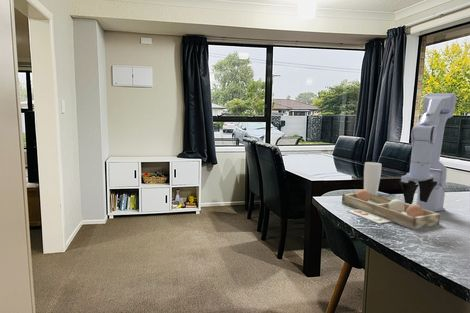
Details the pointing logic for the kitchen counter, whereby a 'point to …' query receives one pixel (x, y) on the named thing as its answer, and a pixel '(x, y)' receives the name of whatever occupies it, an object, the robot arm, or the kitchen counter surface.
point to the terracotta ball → (414, 211)
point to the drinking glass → (372, 176)
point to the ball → (363, 195)
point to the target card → (369, 216)
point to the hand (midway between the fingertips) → (415, 202)
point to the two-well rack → (391, 211)
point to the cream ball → (396, 205)
